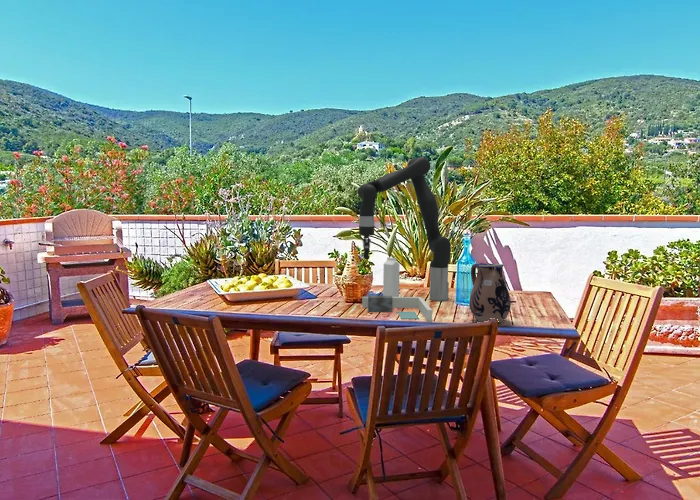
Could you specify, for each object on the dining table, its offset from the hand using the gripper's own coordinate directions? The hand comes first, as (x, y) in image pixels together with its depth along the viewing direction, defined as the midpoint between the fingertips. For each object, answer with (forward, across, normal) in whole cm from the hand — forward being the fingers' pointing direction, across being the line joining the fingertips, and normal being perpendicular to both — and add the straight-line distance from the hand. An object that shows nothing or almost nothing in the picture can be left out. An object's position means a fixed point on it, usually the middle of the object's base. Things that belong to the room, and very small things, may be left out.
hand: (366, 258), depth 271 cm
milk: (+24, +14, -14) cm, 31 cm away
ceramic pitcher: (+24, -32, -52) cm, 66 cm away
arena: (+23, -20, -13) cm, 33 cm away
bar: (+24, -14, -6) cm, 28 cm away
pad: (+23, -24, -19) cm, 38 cm away
